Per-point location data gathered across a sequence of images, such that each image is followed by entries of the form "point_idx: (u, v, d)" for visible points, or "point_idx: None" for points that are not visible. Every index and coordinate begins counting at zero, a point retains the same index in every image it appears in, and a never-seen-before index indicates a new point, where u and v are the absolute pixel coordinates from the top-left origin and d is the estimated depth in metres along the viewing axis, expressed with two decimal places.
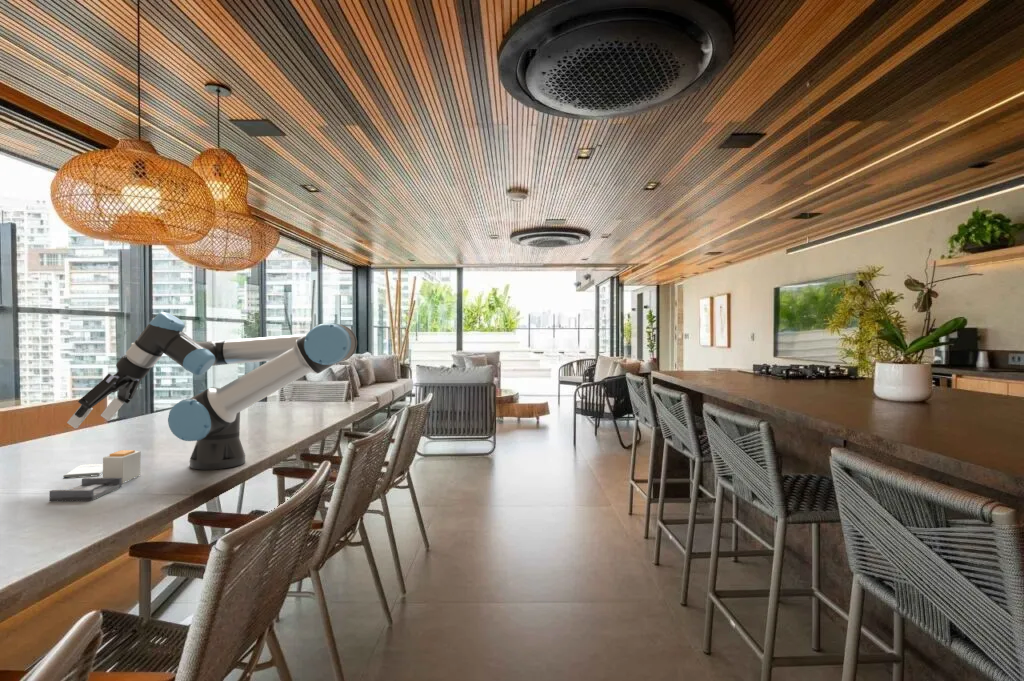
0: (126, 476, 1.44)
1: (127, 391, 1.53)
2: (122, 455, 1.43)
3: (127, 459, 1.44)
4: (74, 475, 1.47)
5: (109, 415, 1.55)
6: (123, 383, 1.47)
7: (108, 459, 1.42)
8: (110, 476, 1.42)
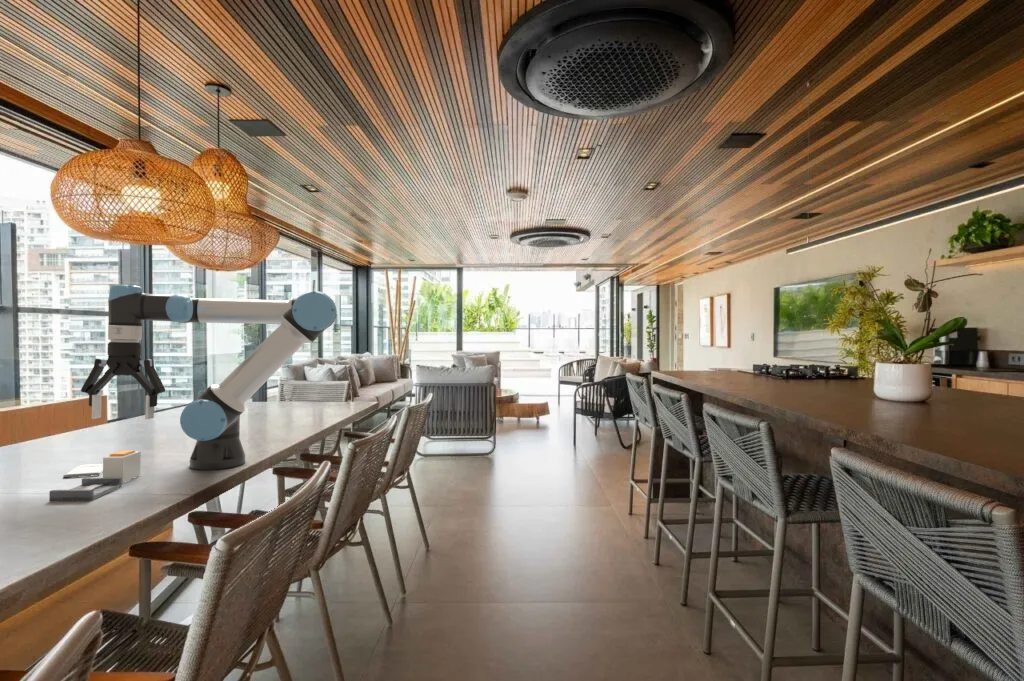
0: (126, 475, 1.44)
1: None
2: (122, 455, 1.43)
3: (128, 459, 1.44)
4: (74, 475, 1.47)
5: (99, 412, 1.46)
6: None
7: (108, 459, 1.42)
8: (110, 476, 1.42)
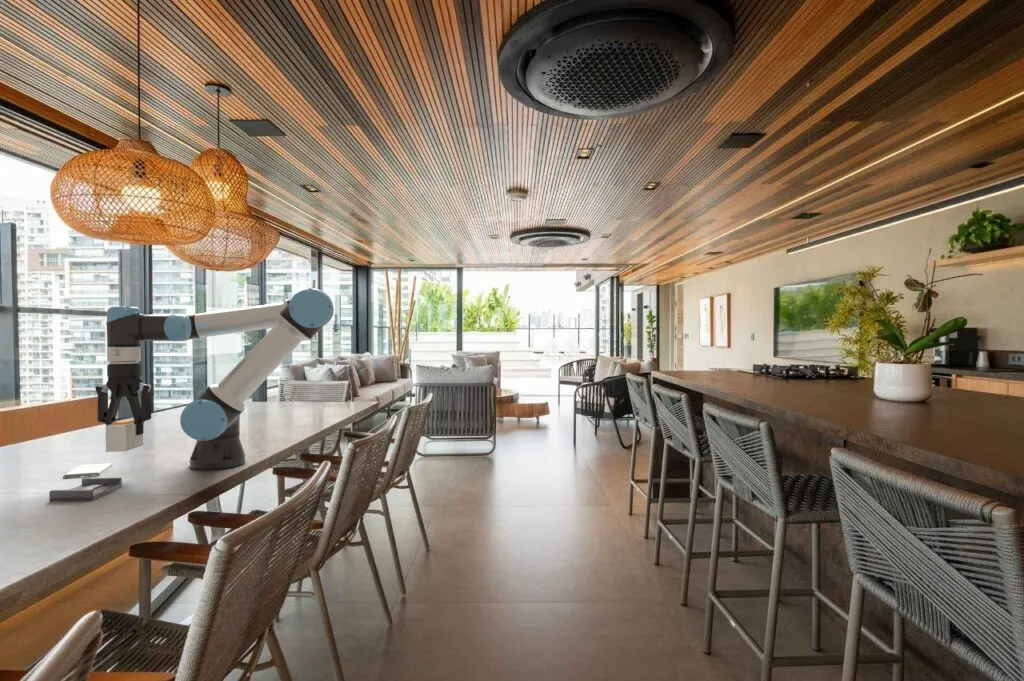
0: (129, 444, 1.44)
1: None
2: (124, 423, 1.43)
3: (130, 427, 1.44)
4: (74, 475, 1.47)
5: None
6: None
7: (110, 427, 1.42)
8: (113, 444, 1.42)
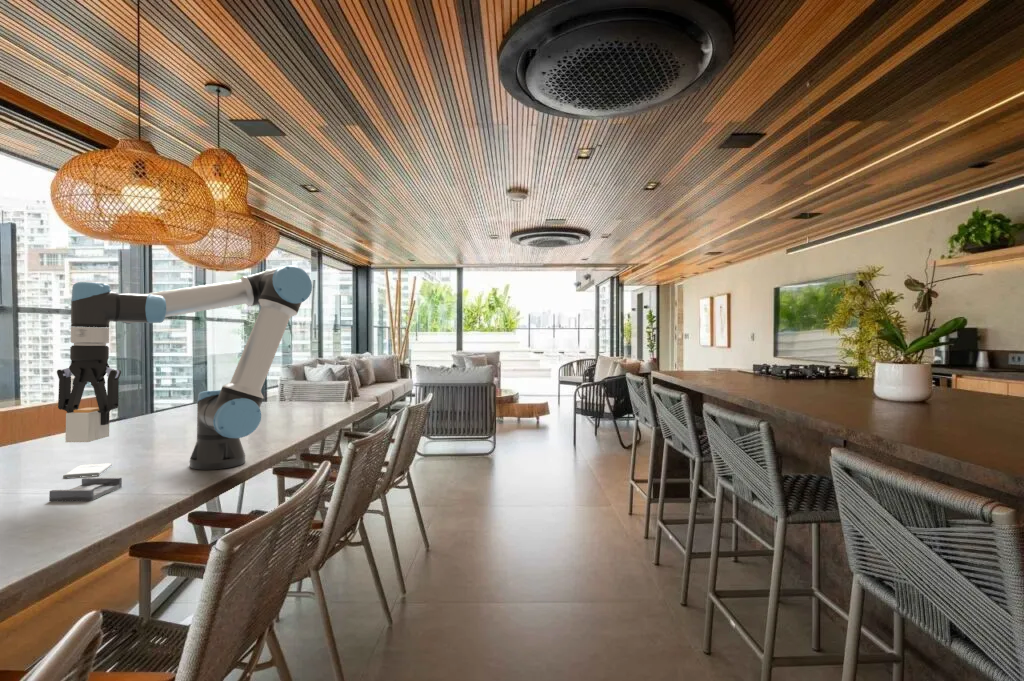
0: (92, 434, 1.30)
1: None
2: (88, 411, 1.29)
3: (94, 415, 1.30)
4: (74, 475, 1.47)
5: None
6: None
7: (71, 415, 1.28)
8: (73, 434, 1.28)
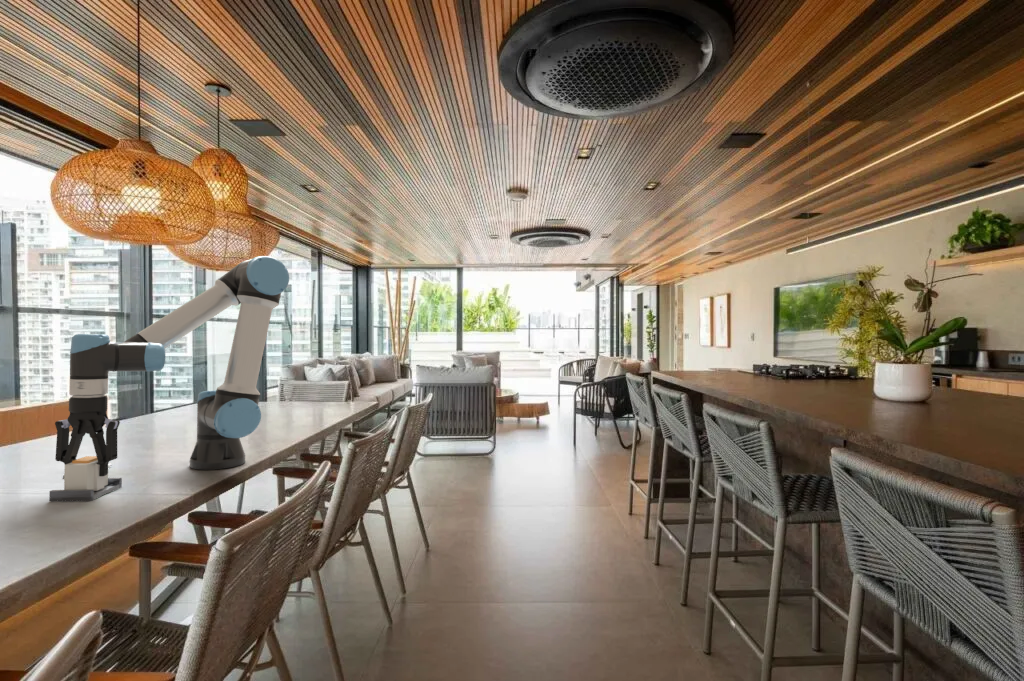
0: (90, 485, 1.29)
1: None
2: (86, 462, 1.29)
3: (92, 466, 1.30)
4: None
5: None
6: None
7: (70, 467, 1.28)
8: (72, 485, 1.28)
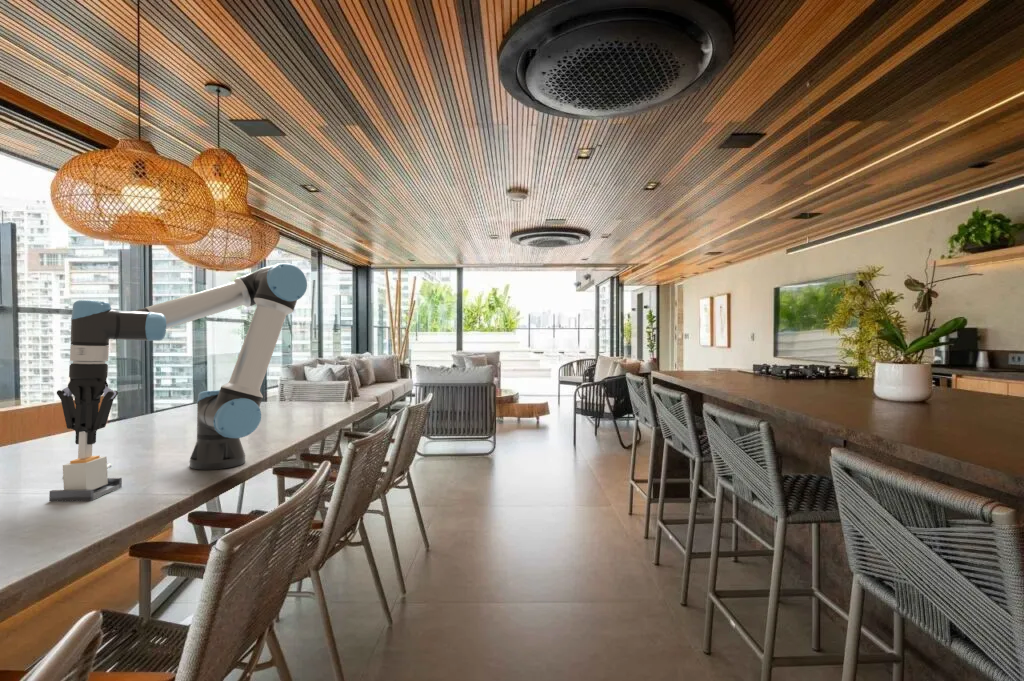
0: (90, 484, 1.29)
1: None
2: (84, 461, 1.29)
3: (91, 465, 1.30)
4: None
5: None
6: None
7: (68, 467, 1.28)
8: (71, 485, 1.28)
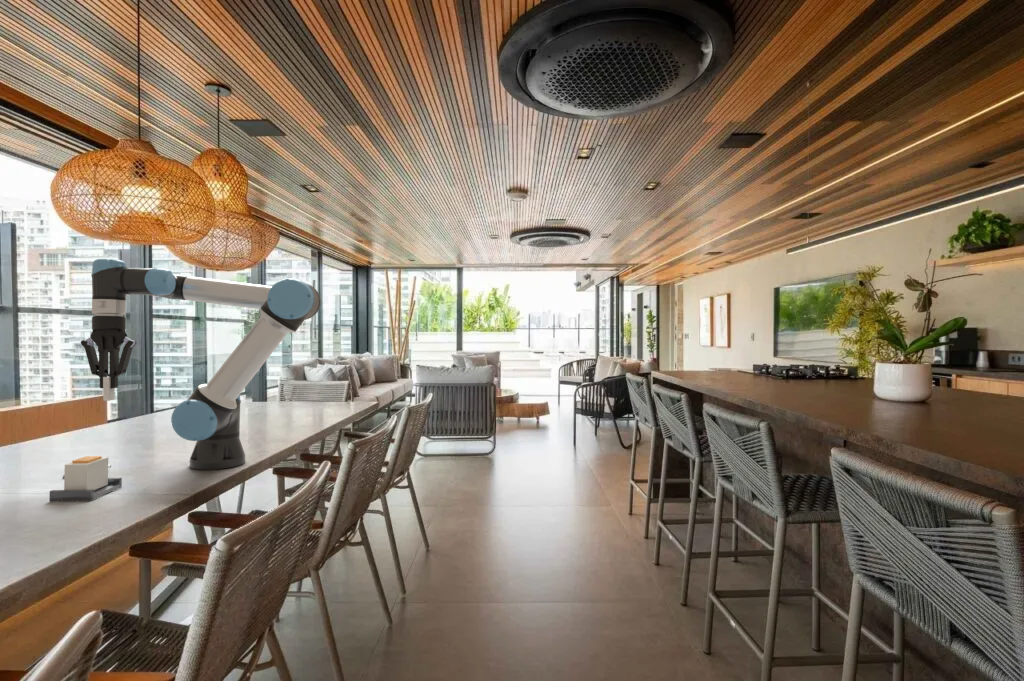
0: (90, 485, 1.29)
1: None
2: (86, 462, 1.29)
3: (92, 466, 1.30)
4: None
5: None
6: None
7: (70, 467, 1.28)
8: (72, 485, 1.28)
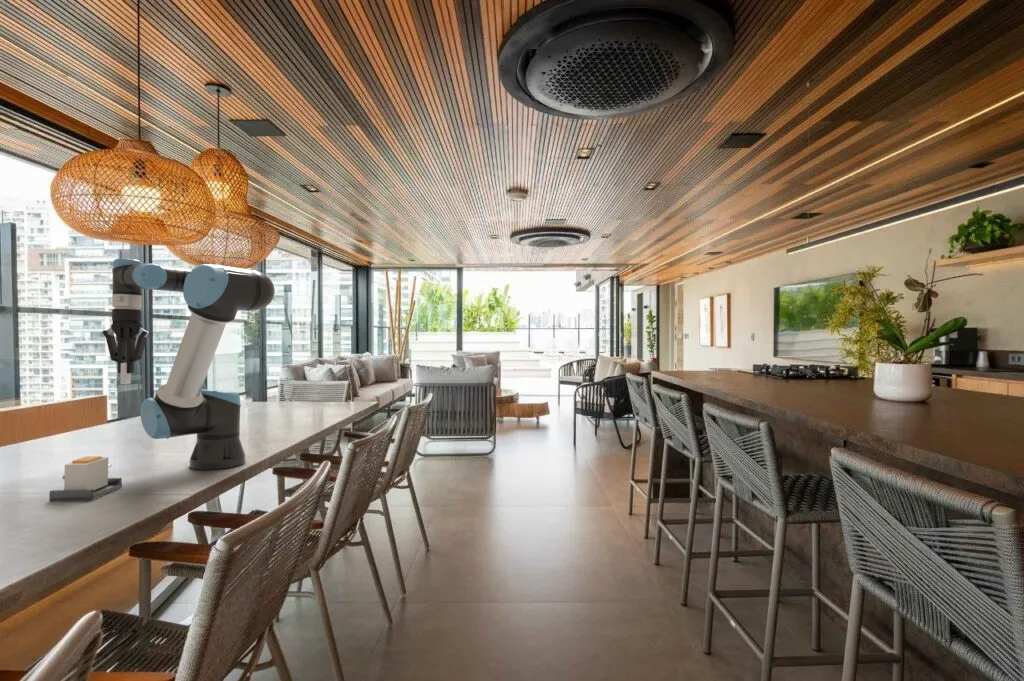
0: (90, 485, 1.29)
1: None
2: (86, 462, 1.29)
3: (92, 466, 1.30)
4: None
5: None
6: None
7: (70, 467, 1.28)
8: (72, 485, 1.28)
